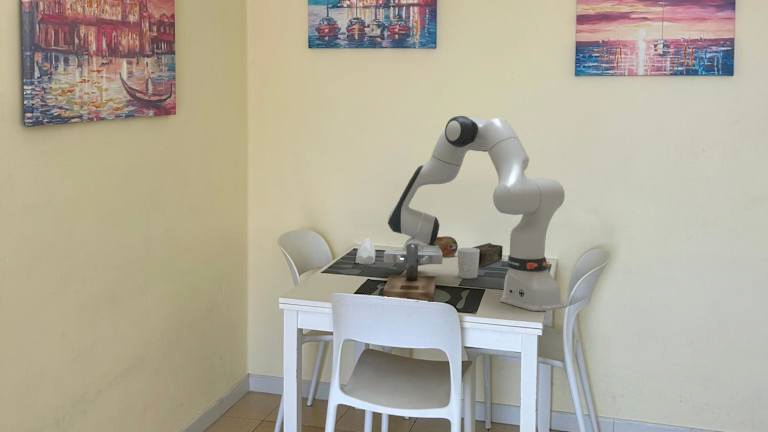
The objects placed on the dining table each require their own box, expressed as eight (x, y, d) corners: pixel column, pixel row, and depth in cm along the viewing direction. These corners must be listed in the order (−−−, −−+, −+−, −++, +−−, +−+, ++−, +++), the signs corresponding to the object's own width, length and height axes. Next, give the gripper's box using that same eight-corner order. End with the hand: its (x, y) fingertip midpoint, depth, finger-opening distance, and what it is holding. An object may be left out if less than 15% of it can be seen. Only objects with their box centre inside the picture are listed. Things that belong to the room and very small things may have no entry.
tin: (421, 258, 343) (422, 237, 341) (419, 256, 346) (420, 236, 344) (457, 257, 346) (458, 236, 345) (455, 255, 349) (455, 235, 348)
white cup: (477, 279, 306) (478, 252, 304) (455, 278, 307) (456, 251, 306) (479, 275, 314) (480, 248, 312) (458, 273, 315) (458, 247, 314)
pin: (419, 280, 290) (420, 245, 288) (409, 281, 288) (409, 246, 286) (414, 278, 293) (414, 243, 292) (403, 279, 292) (404, 244, 290)
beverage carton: (503, 260, 342) (503, 243, 341) (481, 268, 326) (481, 251, 325) (485, 257, 346) (485, 241, 345) (462, 265, 331) (462, 249, 330)
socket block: (435, 284, 297) (436, 276, 297) (433, 301, 274) (433, 292, 273) (389, 283, 299) (389, 274, 298) (383, 300, 275) (383, 291, 275)
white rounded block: (352, 243, 352) (350, 255, 328) (368, 235, 351) (366, 246, 328) (361, 259, 353) (359, 271, 329) (377, 251, 352) (376, 262, 329)
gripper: (385, 244, 303) (381, 251, 289) (443, 245, 301) (442, 253, 287) (384, 261, 304) (381, 269, 290) (442, 263, 302) (441, 271, 288)
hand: (412, 261), depth 289 cm, fingers open, 6 cm apart
